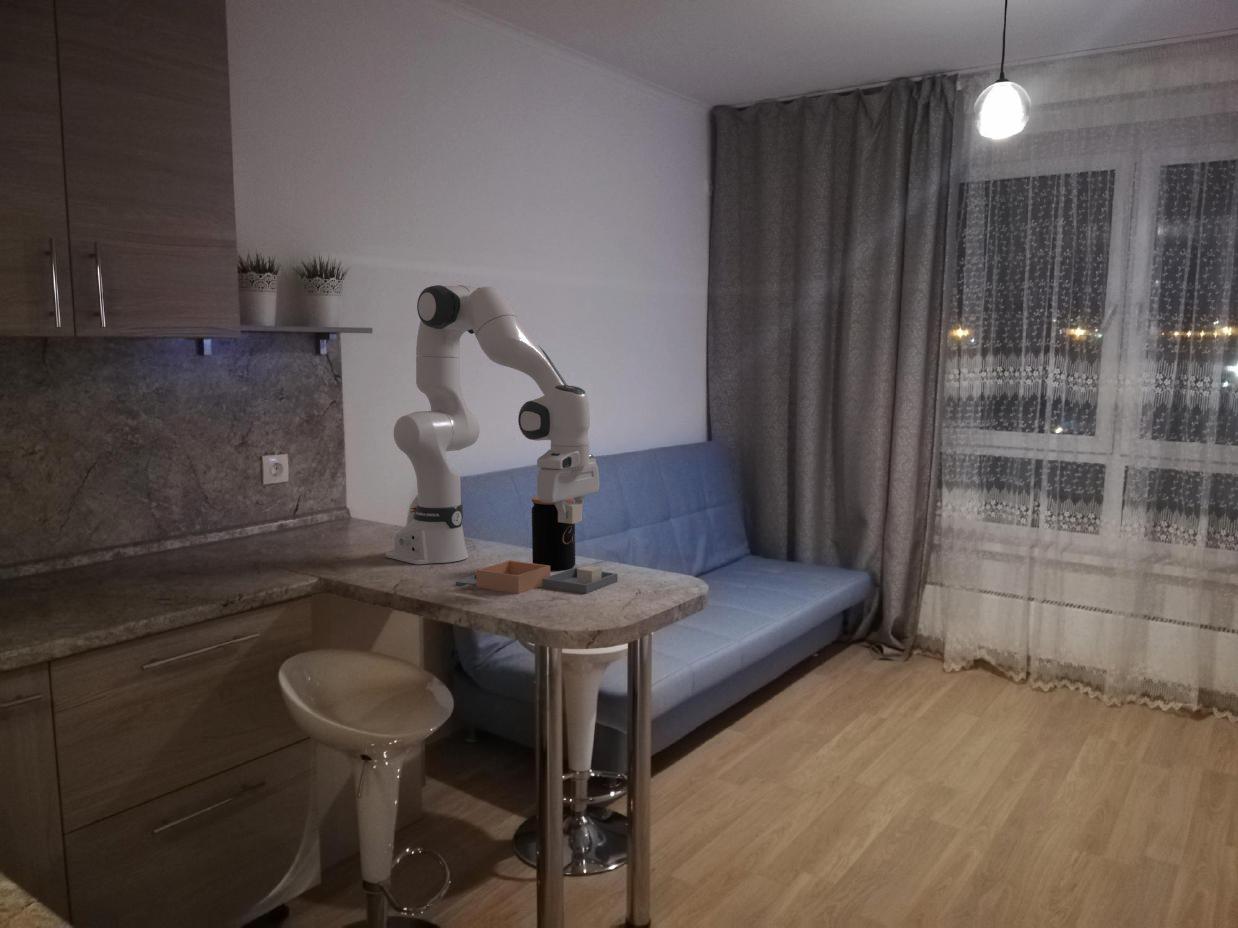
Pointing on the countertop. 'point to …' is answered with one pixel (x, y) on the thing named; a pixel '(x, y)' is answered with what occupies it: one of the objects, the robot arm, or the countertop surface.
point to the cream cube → (572, 513)
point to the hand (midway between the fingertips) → (569, 517)
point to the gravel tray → (569, 582)
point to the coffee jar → (552, 537)
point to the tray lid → (467, 581)
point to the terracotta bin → (512, 576)
